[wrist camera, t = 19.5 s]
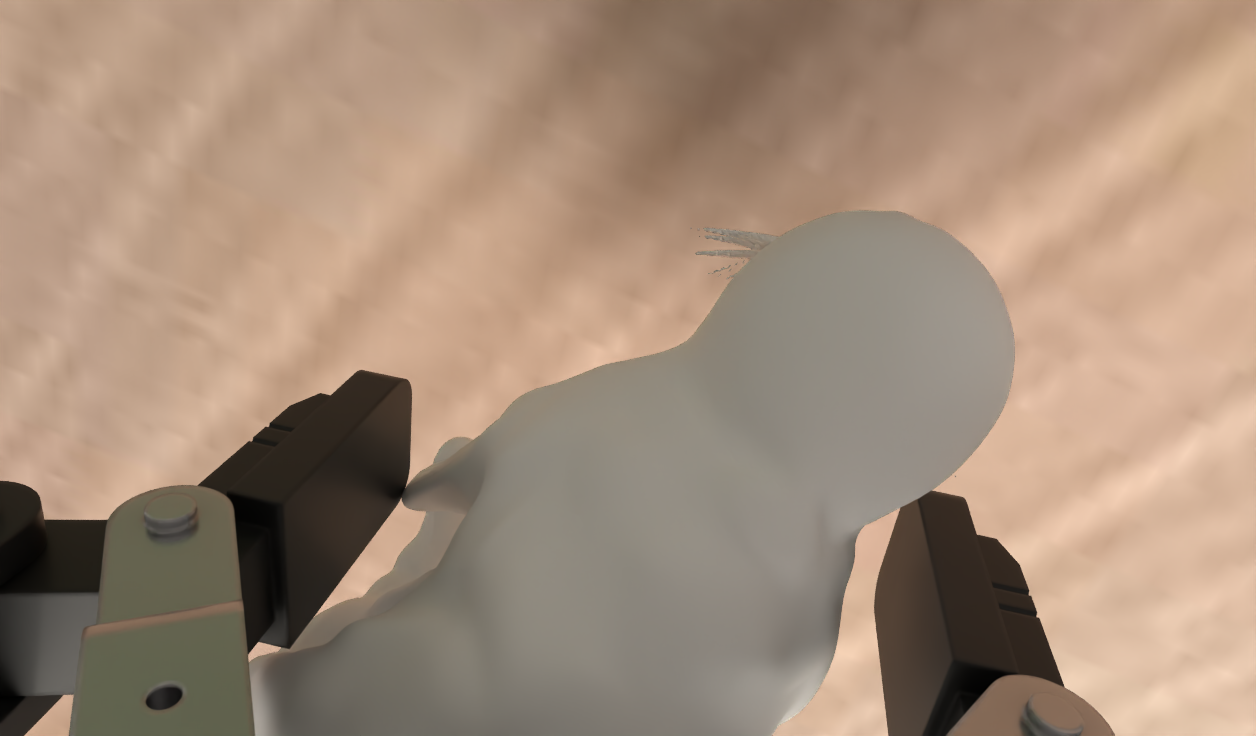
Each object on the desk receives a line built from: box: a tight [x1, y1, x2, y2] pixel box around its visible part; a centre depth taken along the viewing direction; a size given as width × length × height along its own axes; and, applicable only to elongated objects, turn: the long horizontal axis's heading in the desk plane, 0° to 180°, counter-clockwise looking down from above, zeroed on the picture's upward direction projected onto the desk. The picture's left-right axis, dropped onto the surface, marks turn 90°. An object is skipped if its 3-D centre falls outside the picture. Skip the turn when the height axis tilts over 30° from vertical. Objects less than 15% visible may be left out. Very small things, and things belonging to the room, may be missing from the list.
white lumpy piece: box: [249, 210, 1015, 736], centre depth 12 cm, size 6×8×12 cm
